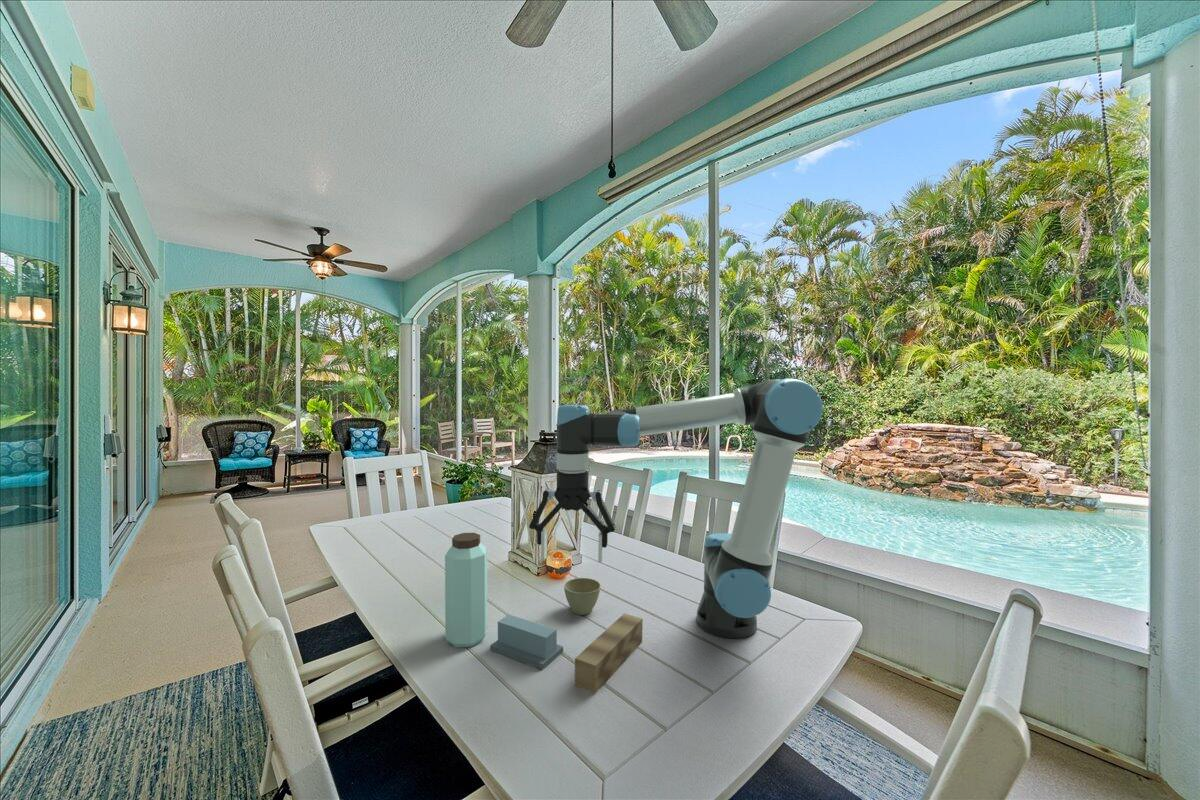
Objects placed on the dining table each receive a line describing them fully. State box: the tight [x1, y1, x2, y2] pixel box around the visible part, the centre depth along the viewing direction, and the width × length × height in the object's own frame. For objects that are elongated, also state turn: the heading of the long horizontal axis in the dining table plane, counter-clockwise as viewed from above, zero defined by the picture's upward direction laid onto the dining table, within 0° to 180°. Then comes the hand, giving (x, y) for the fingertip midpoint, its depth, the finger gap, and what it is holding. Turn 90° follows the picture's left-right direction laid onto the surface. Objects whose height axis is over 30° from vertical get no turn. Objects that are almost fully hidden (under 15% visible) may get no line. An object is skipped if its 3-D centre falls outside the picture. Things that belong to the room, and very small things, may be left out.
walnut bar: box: [574, 613, 643, 694], centre depth 106 cm, size 22×5×6 cm, turn 150°
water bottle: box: [444, 532, 488, 648], centre depth 115 cm, size 10×10×25 cm
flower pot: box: [563, 577, 601, 616], centre depth 129 cm, size 10×10×7 cm
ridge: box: [489, 614, 564, 671], centre depth 110 cm, size 15×8×6 cm, turn 61°
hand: (572, 559), depth 112 cm, fingers open, 13 cm apart
